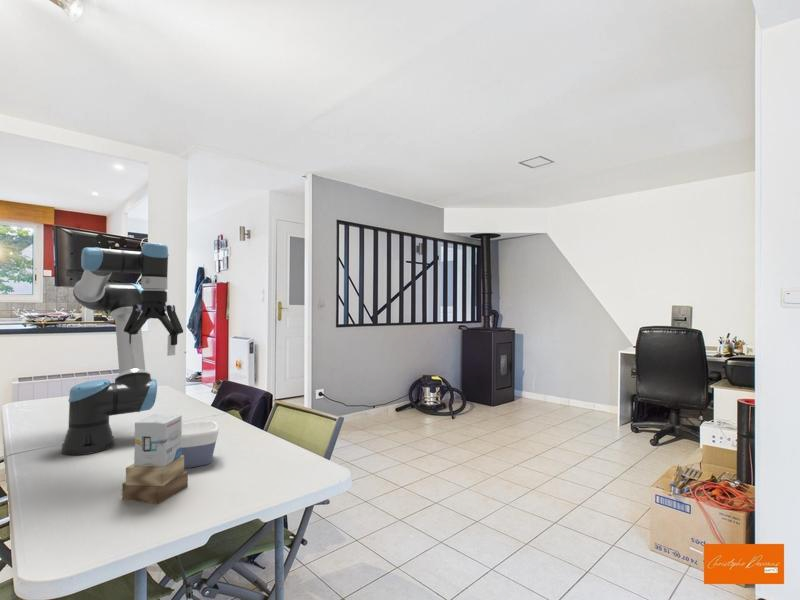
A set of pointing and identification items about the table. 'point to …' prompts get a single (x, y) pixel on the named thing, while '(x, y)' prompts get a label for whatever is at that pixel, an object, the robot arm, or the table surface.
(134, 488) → the tower base
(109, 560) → the table surface
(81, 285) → the robot arm
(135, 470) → the tower top
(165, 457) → the ink box
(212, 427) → the bowl
